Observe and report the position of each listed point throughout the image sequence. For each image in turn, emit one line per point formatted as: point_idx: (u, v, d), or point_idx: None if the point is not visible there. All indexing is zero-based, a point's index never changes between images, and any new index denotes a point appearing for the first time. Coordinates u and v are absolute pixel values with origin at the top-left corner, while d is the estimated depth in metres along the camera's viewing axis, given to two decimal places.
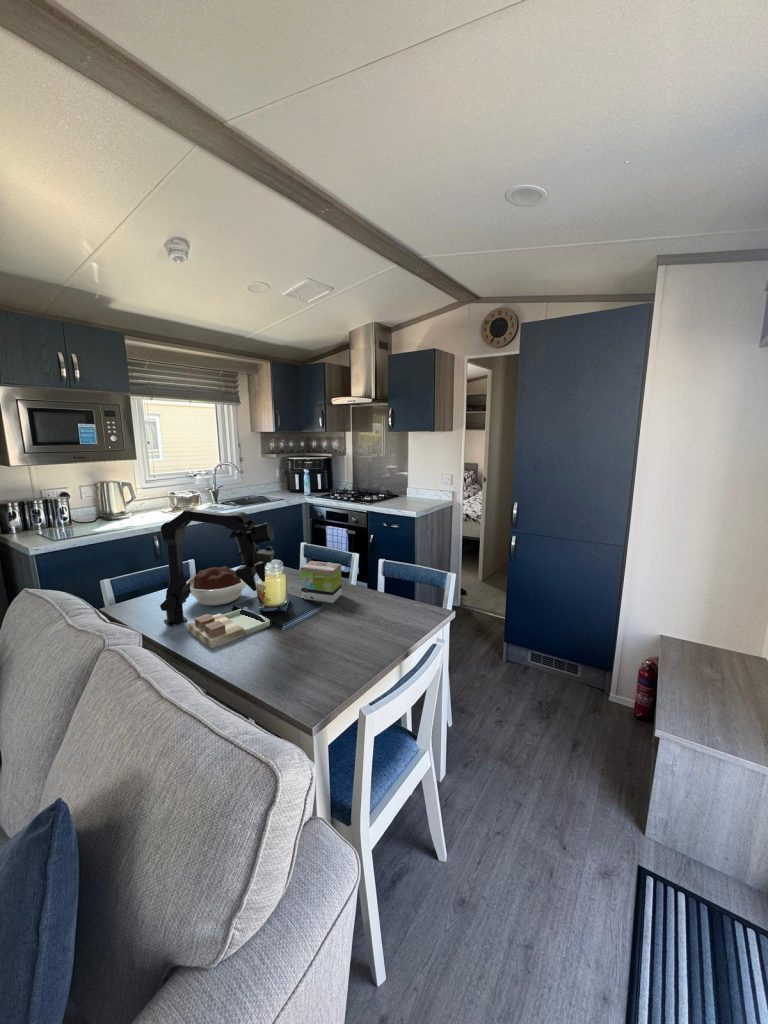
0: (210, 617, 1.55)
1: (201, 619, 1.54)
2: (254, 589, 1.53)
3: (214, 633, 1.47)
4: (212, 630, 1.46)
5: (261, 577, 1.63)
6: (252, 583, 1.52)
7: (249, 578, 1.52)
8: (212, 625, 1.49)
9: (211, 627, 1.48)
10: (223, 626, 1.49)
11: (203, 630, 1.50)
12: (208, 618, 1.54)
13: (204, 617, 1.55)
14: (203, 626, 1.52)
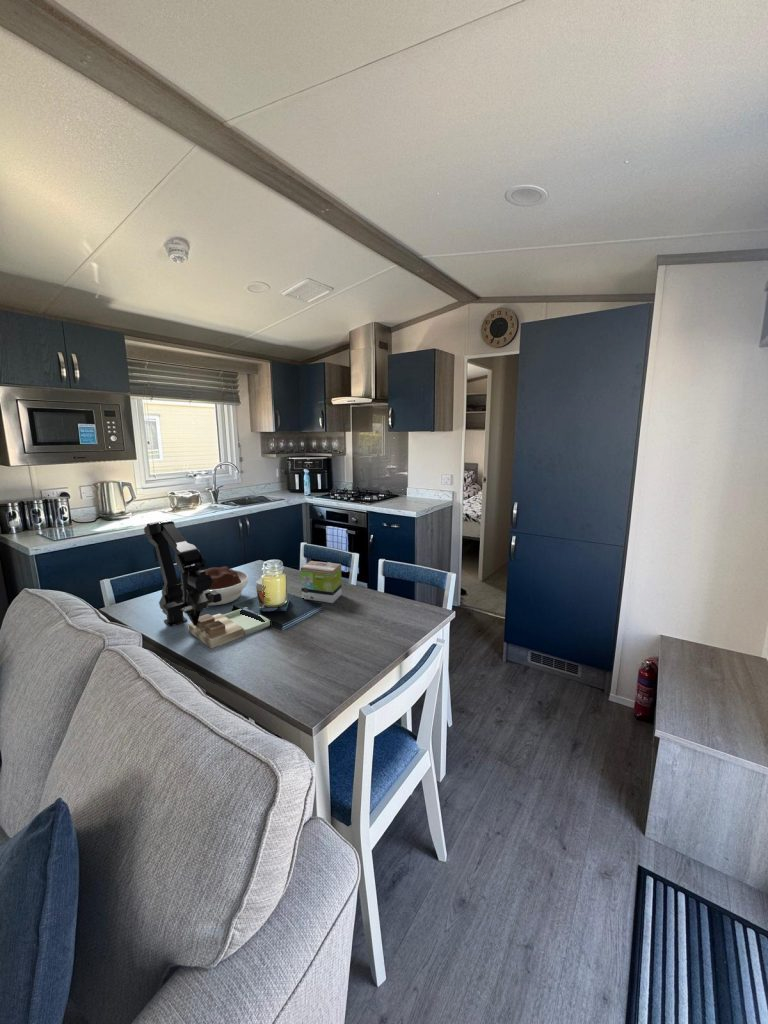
0: (210, 617, 1.55)
1: (201, 619, 1.54)
2: (193, 624, 1.52)
3: (214, 633, 1.47)
4: (212, 630, 1.46)
5: None
6: (191, 618, 1.50)
7: None
8: (212, 625, 1.49)
9: (211, 627, 1.48)
10: (223, 626, 1.49)
11: (203, 630, 1.50)
12: (208, 618, 1.54)
13: (204, 617, 1.55)
14: (203, 626, 1.52)
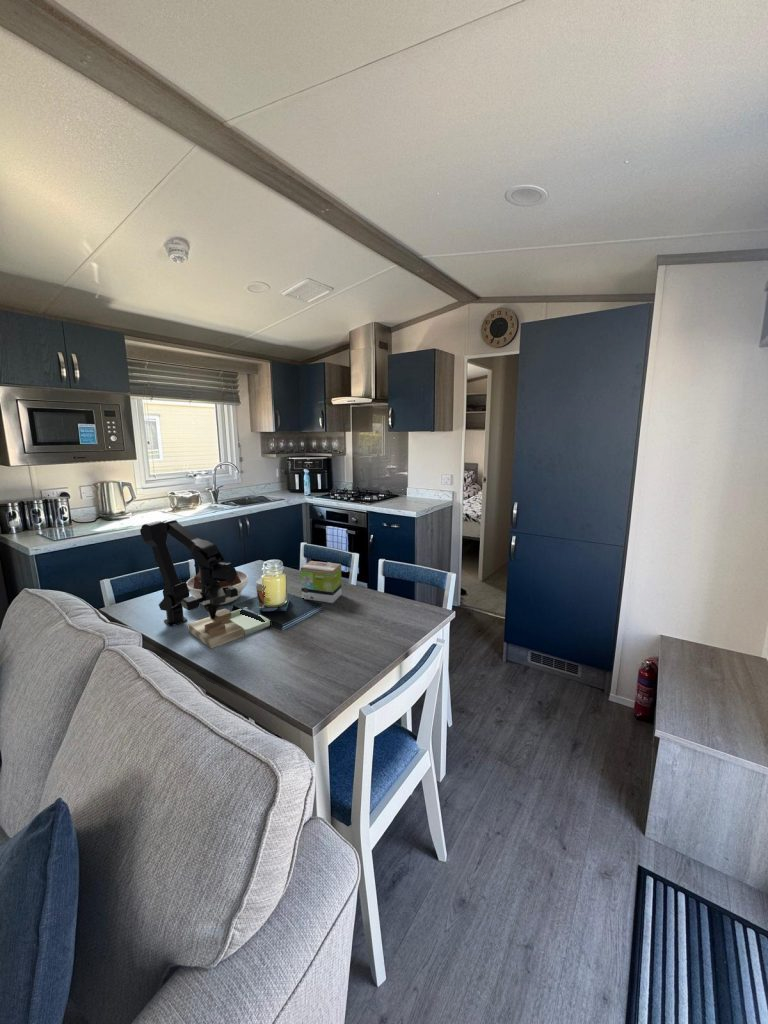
0: (227, 612, 1.59)
1: (218, 613, 1.58)
2: (211, 618, 1.56)
3: (214, 633, 1.47)
4: (212, 630, 1.46)
5: None
6: (208, 612, 1.55)
7: None
8: (212, 625, 1.49)
9: (211, 627, 1.48)
10: (223, 626, 1.49)
11: (203, 630, 1.50)
12: (225, 612, 1.59)
13: (221, 612, 1.59)
14: (220, 620, 1.56)
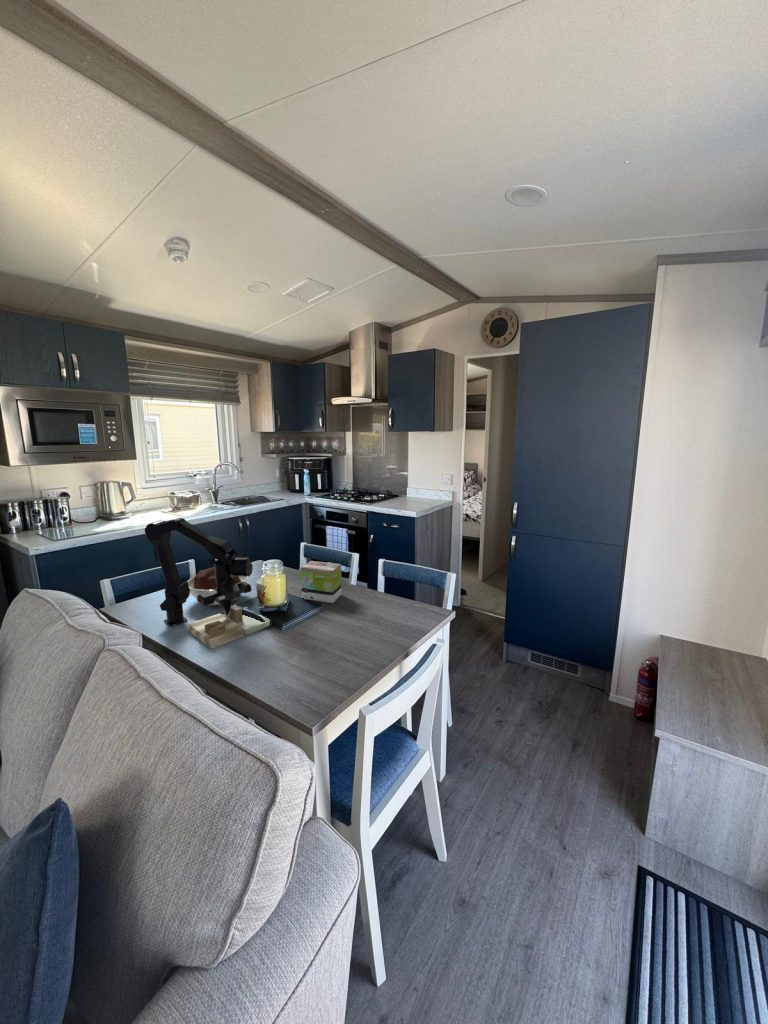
0: None
1: None
2: (225, 613, 1.60)
3: (214, 633, 1.47)
4: (212, 630, 1.46)
5: None
6: (223, 607, 1.59)
7: None
8: (212, 625, 1.49)
9: (211, 627, 1.48)
10: (223, 626, 1.49)
11: (203, 630, 1.50)
12: None
13: None
14: (237, 611, 1.62)
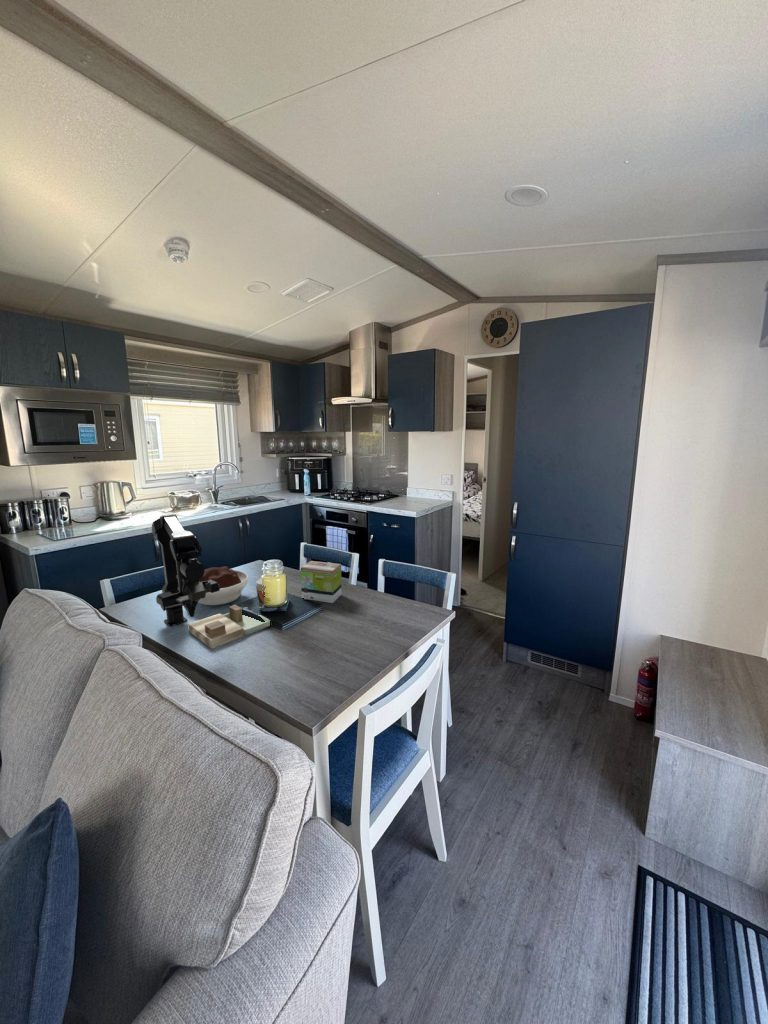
0: None
1: None
2: (189, 615, 1.42)
3: (214, 633, 1.47)
4: (212, 630, 1.46)
5: None
6: (187, 609, 1.41)
7: None
8: (212, 625, 1.49)
9: (211, 627, 1.48)
10: (223, 626, 1.49)
11: (203, 630, 1.50)
12: None
13: None
14: (237, 611, 1.62)
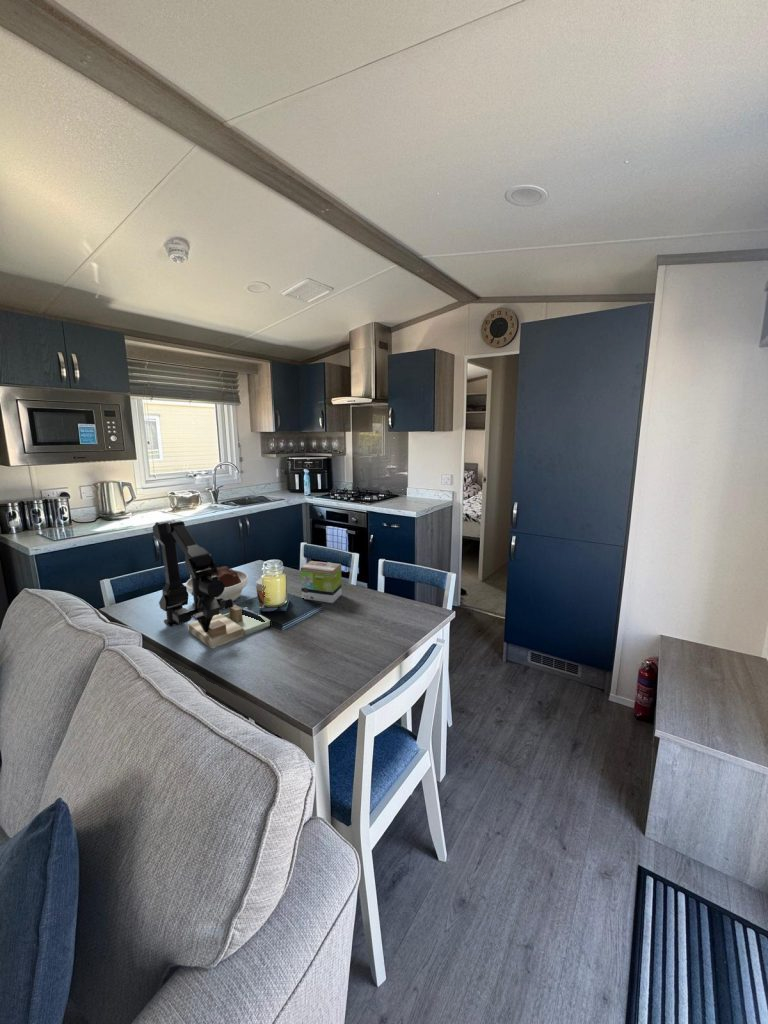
0: None
1: None
2: (204, 631, 1.47)
3: (215, 633, 1.47)
4: (213, 630, 1.46)
5: None
6: (202, 625, 1.45)
7: None
8: (213, 625, 1.49)
9: (212, 626, 1.48)
10: (224, 626, 1.49)
11: (203, 630, 1.50)
12: None
13: None
14: (237, 611, 1.62)
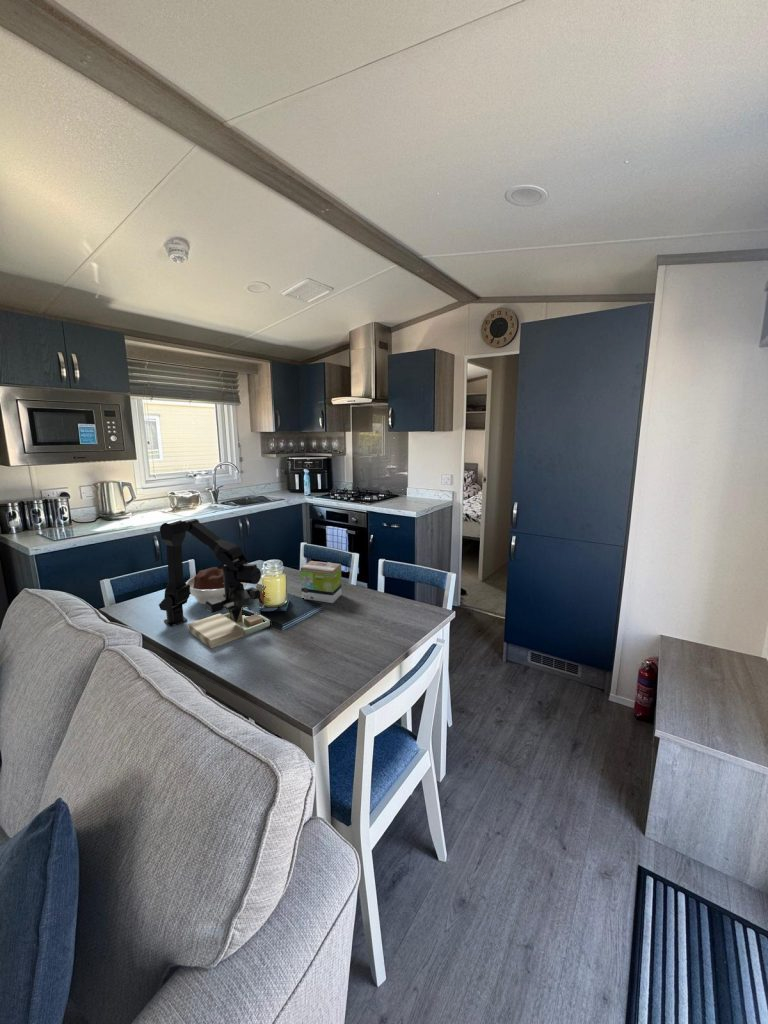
0: None
1: None
2: (234, 620, 1.54)
3: (260, 620, 1.60)
4: None
5: None
6: (232, 614, 1.53)
7: (230, 609, 1.53)
8: None
9: None
10: None
11: (203, 630, 1.50)
12: None
13: None
14: None
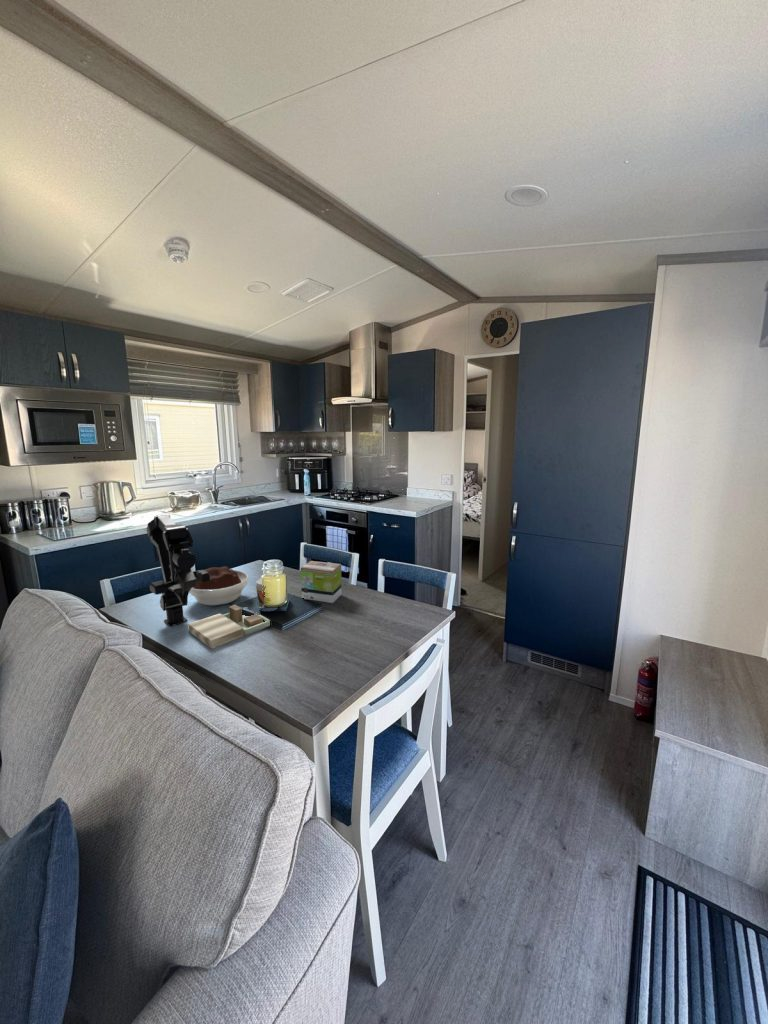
0: None
1: None
2: (181, 603, 1.50)
3: (260, 620, 1.60)
4: None
5: None
6: (179, 597, 1.48)
7: None
8: None
9: None
10: None
11: (203, 630, 1.50)
12: None
13: None
14: (237, 611, 1.62)
